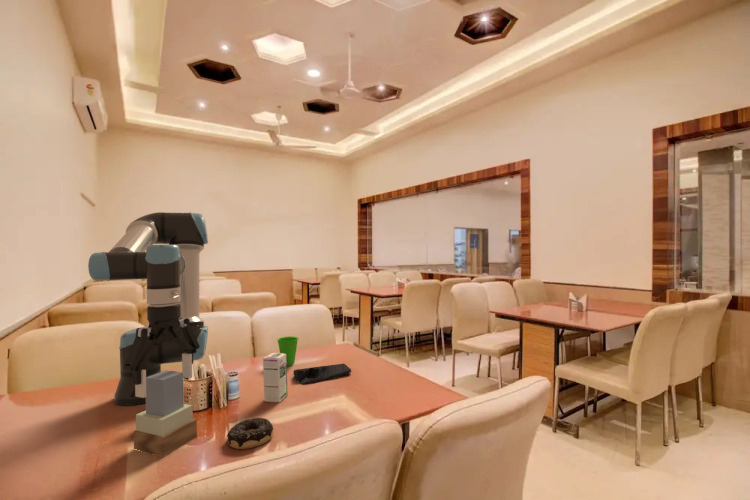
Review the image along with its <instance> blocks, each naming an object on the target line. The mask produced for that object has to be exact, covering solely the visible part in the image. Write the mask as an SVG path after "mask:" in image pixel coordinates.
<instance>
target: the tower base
mask: <svg viewBox="0 0 750 500" xmlns="http://www.w3.org/2000/svg"><path fill="white" fill-rule="evenodd" d="M197 427H198V426H197V419H196V418H193V421H191V422H189V423H187V424H185V425H183V426H181V427H179V428H178V429H176V430H174V431H172V432H170V433H168V434H166V435H164V436H162V437H161V436H157V435H153V434H149V433H144V432H140V431H136V429H135V430H133V450H134V449H137V450H140V451H139V452H141V451H142V453H145V452H146V453H145V454H149V453H150V455H153V456H158V457H162V458H164V457H166V456H168V455H170V454H171V453H173V452H174V451H176V450H178V449H179V448H181V447H182V446H184V445H186V444H188V443H190V442H191V441H192V440H194V439H196V438H197V437H198V435H197V434H198V433H197V432H198V431H197V430H198V429H197ZM137 450H136V451H137Z"/></svg>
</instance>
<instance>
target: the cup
mask: <svg viewBox="0 0 750 500" xmlns="http://www.w3.org/2000/svg"><path fill="white" fill-rule="evenodd" d="M299 338H300V337H298V336H283V337H279V338H277V340H276V341H277V343H278V348H279V353H285V354H286V362H287V367H290V365H291V366H293V364H294V365H295V362H296V361H295V360H296V354H297V347H298V346H297V345H298V340H299Z"/></svg>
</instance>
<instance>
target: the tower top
mask: <svg viewBox="0 0 750 500" xmlns="http://www.w3.org/2000/svg"><path fill="white" fill-rule="evenodd" d="M193 407H194V406H193V404H186V403H184V407H182V408H180V409H178V410H176V411H174V412H172V413H170V414H168V415H166V416H158V415H152V414H146V409H145V410H143V411H141V412H139V413H136V414H135V430H136V431H140V432H144V433H149V434H153V435H157V436H161V437H162V436H164V435H166V434H168V433H170V432H172V431H174V430H176V429H178V428H179V427H181V426H183V425H185V424H187V423H189V422H191V421H193V419H194V415H193V409H194V408H193Z"/></svg>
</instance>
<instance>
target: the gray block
mask: <svg viewBox="0 0 750 500" xmlns="http://www.w3.org/2000/svg"><path fill="white" fill-rule="evenodd" d="M184 393H185V392H184V377H183V372H182V371H175V370H174V371H173V370H166V369H165V370H161V372H160V373H157V374H154V375H152V376H149V377H146V403H145V410H146V414H152V415H158V416H166V415H168V414H170V413H172V412H174V411H176V410H178V409H180V408H182V407H184V404H185V403H184V402H185V398H184V397H185V395H184Z"/></svg>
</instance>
